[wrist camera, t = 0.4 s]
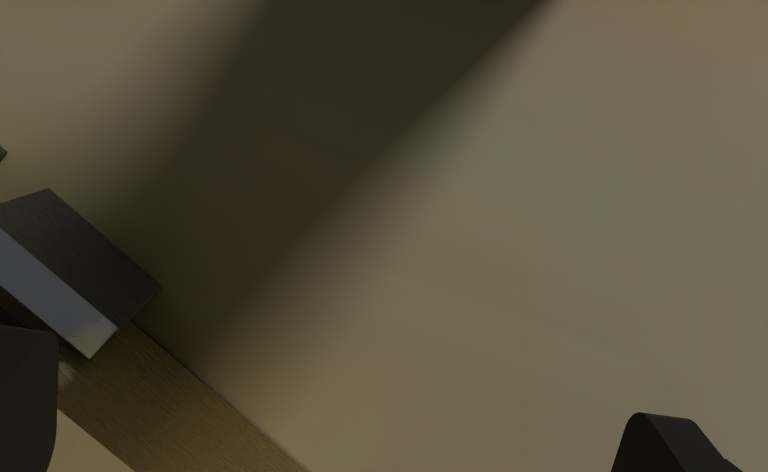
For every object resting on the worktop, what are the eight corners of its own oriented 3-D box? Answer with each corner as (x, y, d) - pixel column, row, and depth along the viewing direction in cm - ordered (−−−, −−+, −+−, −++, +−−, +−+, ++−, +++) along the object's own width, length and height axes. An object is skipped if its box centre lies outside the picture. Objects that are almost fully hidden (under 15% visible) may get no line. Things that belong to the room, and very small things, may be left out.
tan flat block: (323, 485, 31) (304, 609, 24) (277, 528, 32) (245, 663, 24) (112, 305, 29) (21, 379, 22) (67, 354, 30) (-37, 442, 22)
